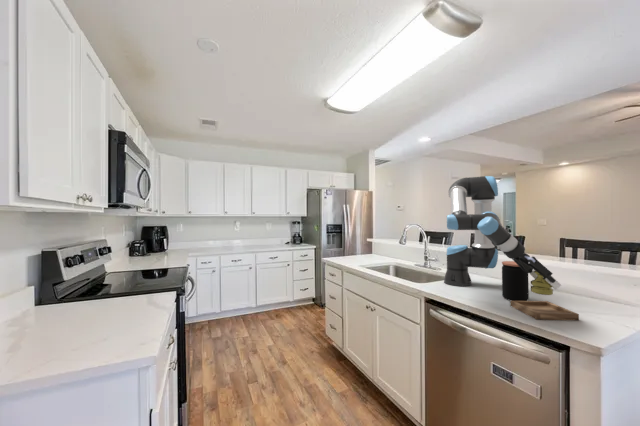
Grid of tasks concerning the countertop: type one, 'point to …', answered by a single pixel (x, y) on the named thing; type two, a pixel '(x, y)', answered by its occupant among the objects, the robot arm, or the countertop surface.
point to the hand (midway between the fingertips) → (550, 284)
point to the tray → (544, 310)
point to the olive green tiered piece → (541, 286)
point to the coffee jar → (514, 282)
